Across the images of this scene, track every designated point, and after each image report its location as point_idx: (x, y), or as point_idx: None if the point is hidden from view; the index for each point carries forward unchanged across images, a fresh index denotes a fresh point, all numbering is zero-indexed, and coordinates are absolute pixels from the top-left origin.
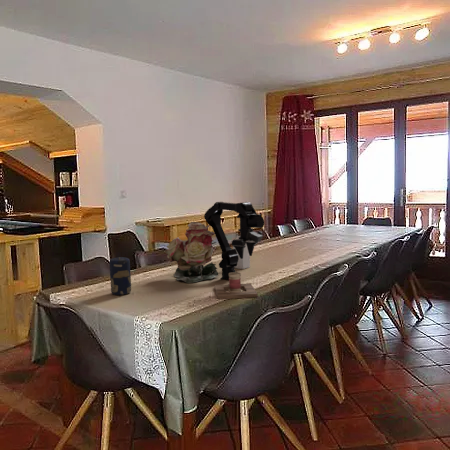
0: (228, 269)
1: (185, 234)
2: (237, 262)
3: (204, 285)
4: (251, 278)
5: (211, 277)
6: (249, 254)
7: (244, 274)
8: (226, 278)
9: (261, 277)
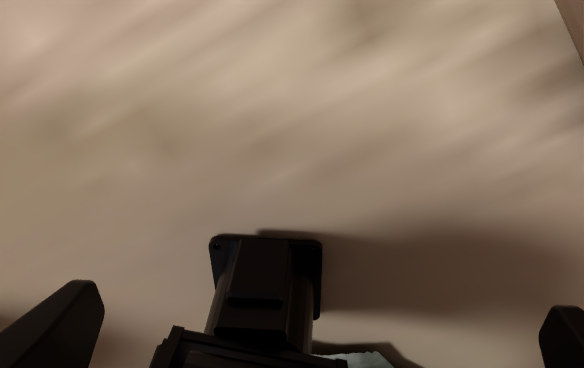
0: (300, 338)
1: None
2: (188, 353)
3: None
4: (145, 108)
5: None
6: (94, 340)
7: (60, 232)
8: (313, 280)
9: (31, 27)
